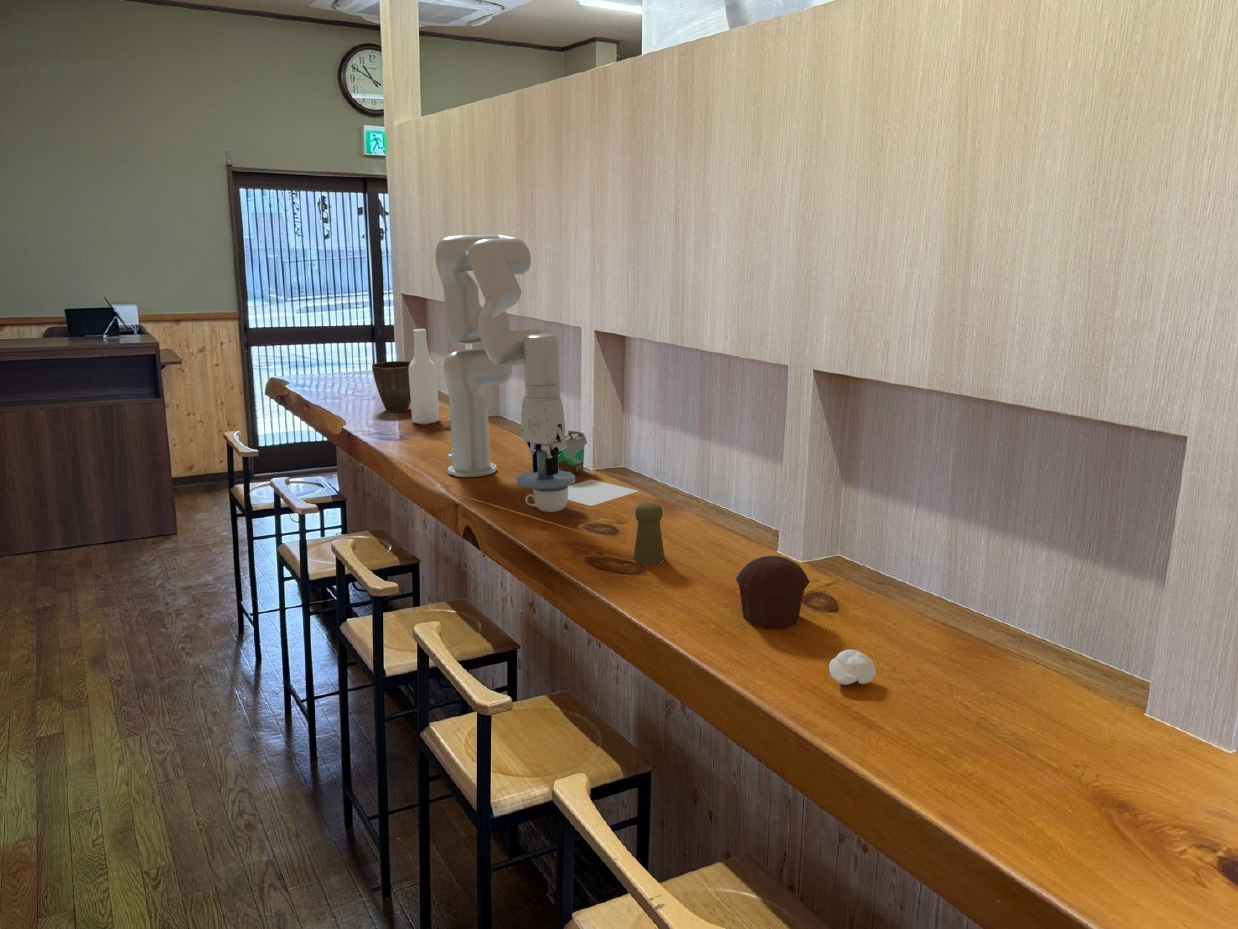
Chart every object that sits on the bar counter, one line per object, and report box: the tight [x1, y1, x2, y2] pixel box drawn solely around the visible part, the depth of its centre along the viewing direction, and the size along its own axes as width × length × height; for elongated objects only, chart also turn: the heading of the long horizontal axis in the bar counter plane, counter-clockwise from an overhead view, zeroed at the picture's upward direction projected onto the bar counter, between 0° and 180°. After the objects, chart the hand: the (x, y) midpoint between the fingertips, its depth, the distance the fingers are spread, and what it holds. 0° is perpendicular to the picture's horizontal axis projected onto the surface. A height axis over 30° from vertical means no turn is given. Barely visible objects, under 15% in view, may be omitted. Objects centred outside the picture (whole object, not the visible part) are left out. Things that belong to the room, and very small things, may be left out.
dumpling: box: [828, 649, 877, 686], centre depth 131 cm, size 7×5×4 cm
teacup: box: [525, 485, 569, 513], centre depth 211 cm, size 10×8×5 cm
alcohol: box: [408, 328, 440, 425], centre depth 303 cm, size 9×9×30 cm
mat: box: [568, 478, 640, 507], centre depth 224 cm, size 16×16×1 cm
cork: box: [633, 502, 666, 565], centre depth 179 cm, size 6×6×11 cm
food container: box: [558, 430, 588, 477], centre depth 240 cm, size 12×6×10 cm, turn 168°
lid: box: [516, 448, 576, 490], centre depth 209 cm, size 13×13×7 cm
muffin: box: [735, 555, 810, 630], centre depth 152 cm, size 12×11×10 cm
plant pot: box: [371, 360, 411, 412], centre depth 325 cm, size 15×15×16 cm
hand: (545, 472), depth 209 cm, fingers closed on lid, 3 cm apart
